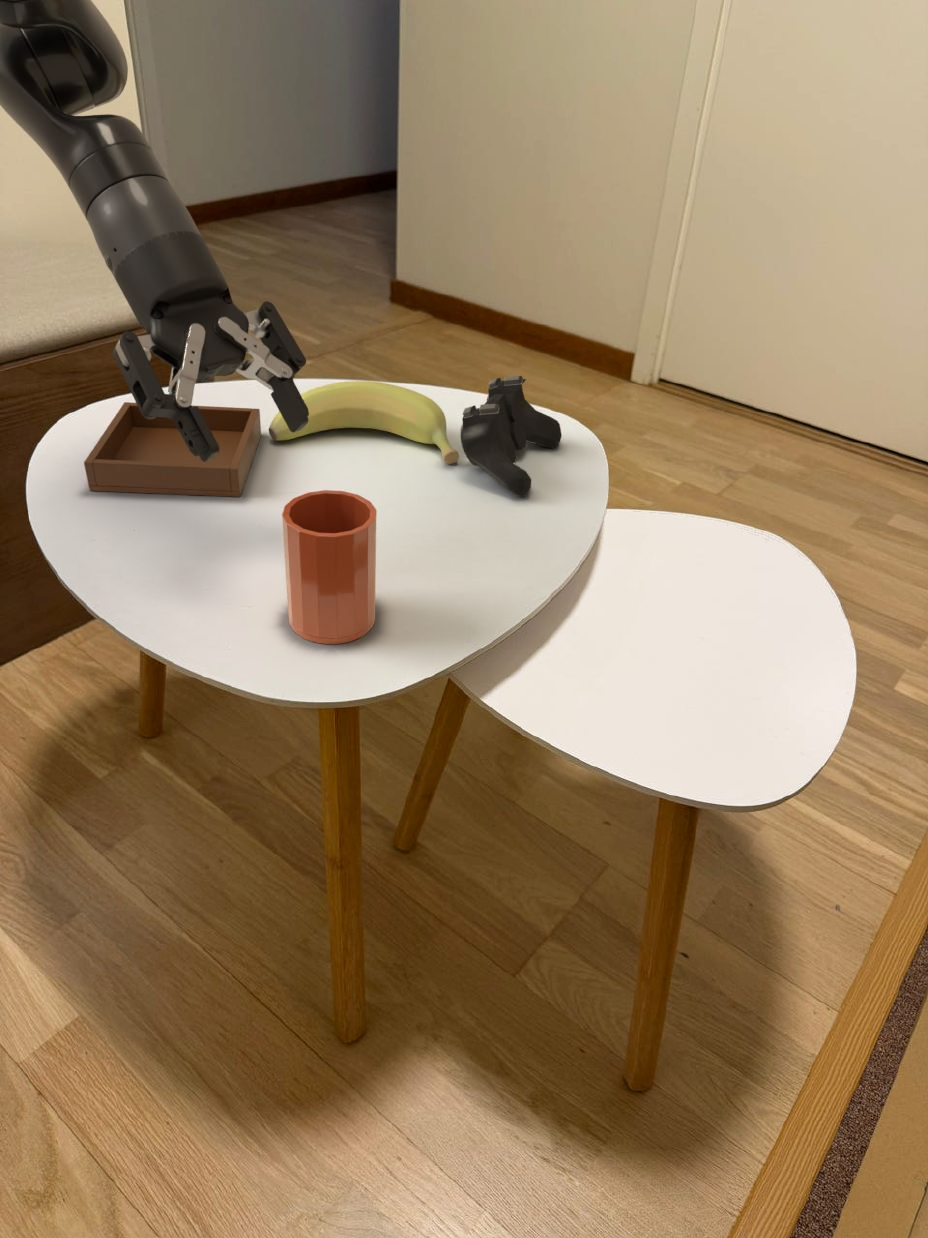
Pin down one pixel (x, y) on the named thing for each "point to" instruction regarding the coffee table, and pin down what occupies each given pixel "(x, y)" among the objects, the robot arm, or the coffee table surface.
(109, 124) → the robot arm
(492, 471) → the chunky heeled booties
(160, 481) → the tray
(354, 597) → the cup
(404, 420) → the banana
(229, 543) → the coffee table surface
